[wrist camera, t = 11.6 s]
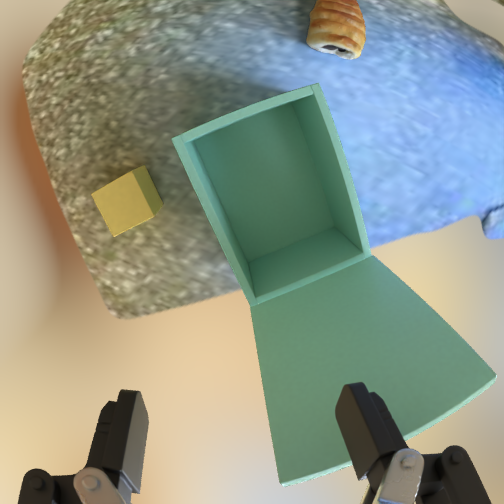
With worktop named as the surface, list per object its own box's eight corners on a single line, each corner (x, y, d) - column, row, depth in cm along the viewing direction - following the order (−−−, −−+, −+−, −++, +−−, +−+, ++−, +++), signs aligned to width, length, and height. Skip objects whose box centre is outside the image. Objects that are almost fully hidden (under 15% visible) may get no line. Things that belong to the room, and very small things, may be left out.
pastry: (309, -14, 23) (319, -27, 20) (361, 2, 24) (376, -8, 21) (302, 50, 27) (312, 41, 23) (357, 64, 28) (372, 59, 24)
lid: (279, 483, 11) (304, 504, 13) (497, 374, 10) (481, 418, 12) (249, 306, 27) (268, 344, 29) (373, 254, 27) (381, 295, 28)
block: (108, 184, 30) (90, 194, 26) (144, 164, 30) (131, 170, 25) (127, 222, 32) (113, 237, 28) (163, 204, 32) (154, 216, 27)
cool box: (184, 137, 29) (170, 138, 21) (293, 94, 29) (319, 82, 21) (243, 267, 36) (250, 307, 28) (339, 227, 35) (372, 256, 27)
